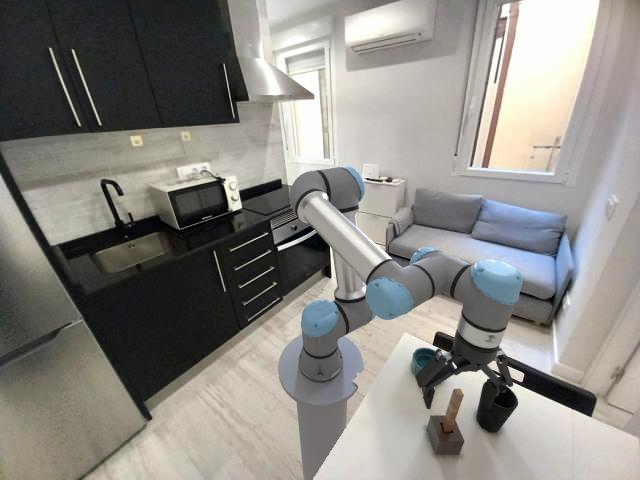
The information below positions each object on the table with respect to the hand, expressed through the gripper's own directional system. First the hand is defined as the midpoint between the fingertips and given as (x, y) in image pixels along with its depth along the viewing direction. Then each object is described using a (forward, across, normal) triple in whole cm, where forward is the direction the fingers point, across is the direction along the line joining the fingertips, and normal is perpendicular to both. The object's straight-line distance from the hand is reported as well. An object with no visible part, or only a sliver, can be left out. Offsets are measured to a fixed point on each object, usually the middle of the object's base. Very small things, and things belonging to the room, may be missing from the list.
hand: (455, 403), depth 60 cm
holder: (+16, 0, 0) cm, 16 cm away
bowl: (+16, +3, +21) cm, 26 cm away
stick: (+16, 0, 0) cm, 16 cm away
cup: (+16, +14, +5) cm, 22 cm away
